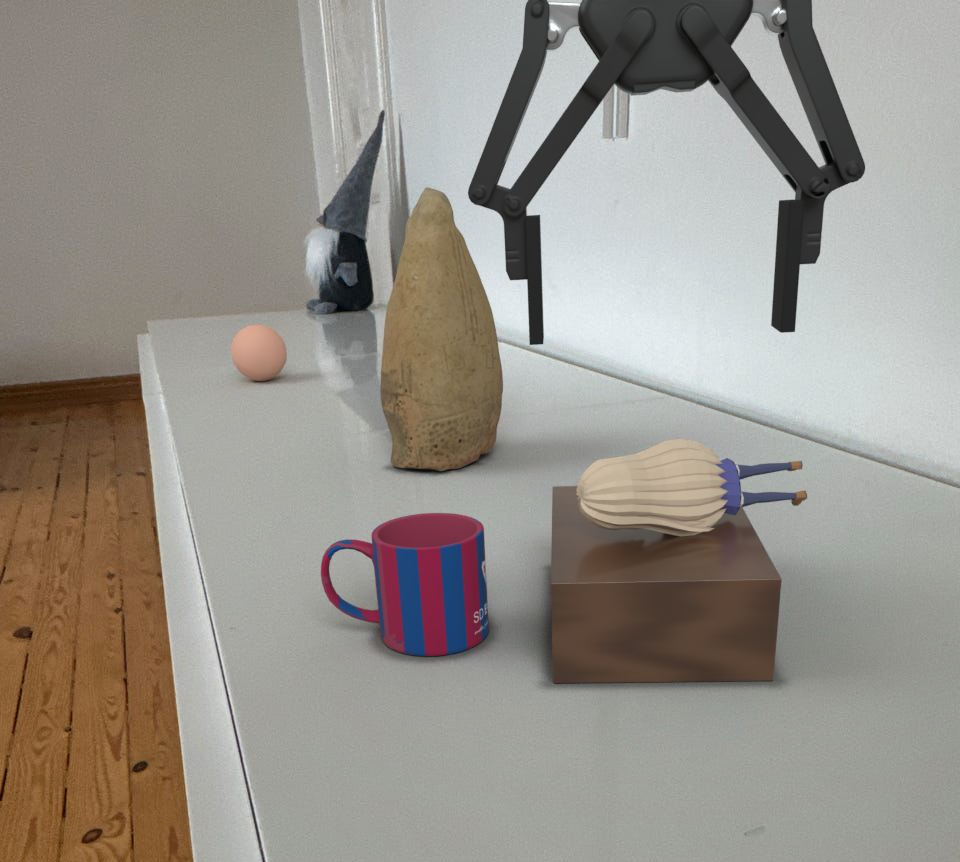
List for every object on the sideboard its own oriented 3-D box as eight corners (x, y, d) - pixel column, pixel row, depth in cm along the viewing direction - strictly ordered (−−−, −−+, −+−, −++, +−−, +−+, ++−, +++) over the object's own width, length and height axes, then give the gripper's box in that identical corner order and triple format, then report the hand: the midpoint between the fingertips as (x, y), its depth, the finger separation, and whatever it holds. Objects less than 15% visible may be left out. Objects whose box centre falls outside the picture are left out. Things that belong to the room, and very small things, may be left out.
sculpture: (475, 439, 108) (462, 184, 97) (525, 461, 98) (516, 182, 88) (370, 456, 103) (344, 191, 93) (411, 481, 94) (388, 190, 83)
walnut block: (723, 563, 71) (728, 481, 68) (773, 681, 54) (781, 578, 52) (554, 567, 72) (552, 486, 69) (553, 683, 55) (550, 583, 53)
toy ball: (279, 373, 152) (271, 319, 148) (298, 380, 145) (291, 324, 142) (228, 380, 148) (219, 325, 145) (246, 388, 142) (237, 330, 138)
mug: (481, 658, 59) (475, 549, 56) (317, 655, 60) (303, 549, 57) (495, 612, 65) (490, 512, 62) (346, 611, 66) (334, 512, 63)
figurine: (778, 443, 64) (558, 457, 60) (817, 423, 60) (584, 437, 56) (791, 533, 63) (572, 553, 59) (832, 519, 59) (599, 540, 55)
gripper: (915, -135, 49) (869, 314, 58) (413, -91, 51) (444, 335, 60) (972, -184, 42) (910, 333, 51) (391, -130, 45) (429, 357, 54)
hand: (658, 335), depth 56 cm, fingers open, 13 cm apart
